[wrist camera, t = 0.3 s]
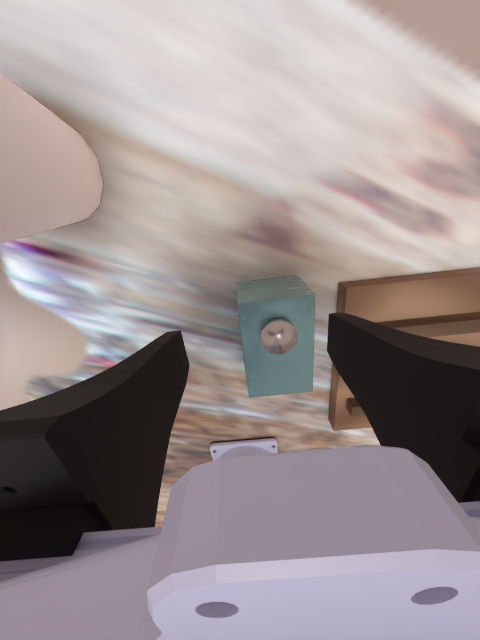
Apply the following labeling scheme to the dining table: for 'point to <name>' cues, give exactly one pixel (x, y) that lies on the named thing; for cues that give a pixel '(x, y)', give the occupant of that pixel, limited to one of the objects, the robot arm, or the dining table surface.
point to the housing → (277, 335)
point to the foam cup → (41, 168)
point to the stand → (408, 320)
